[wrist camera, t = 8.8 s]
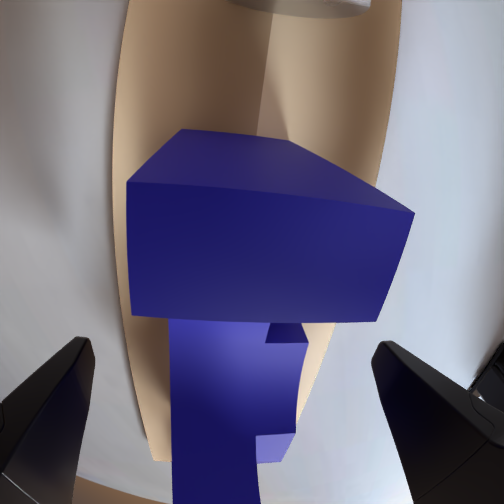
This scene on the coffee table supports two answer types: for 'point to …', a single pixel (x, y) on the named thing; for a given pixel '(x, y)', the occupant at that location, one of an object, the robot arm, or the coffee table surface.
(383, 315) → the coffee table surface
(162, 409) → the light wooden board
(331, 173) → the cable clip
